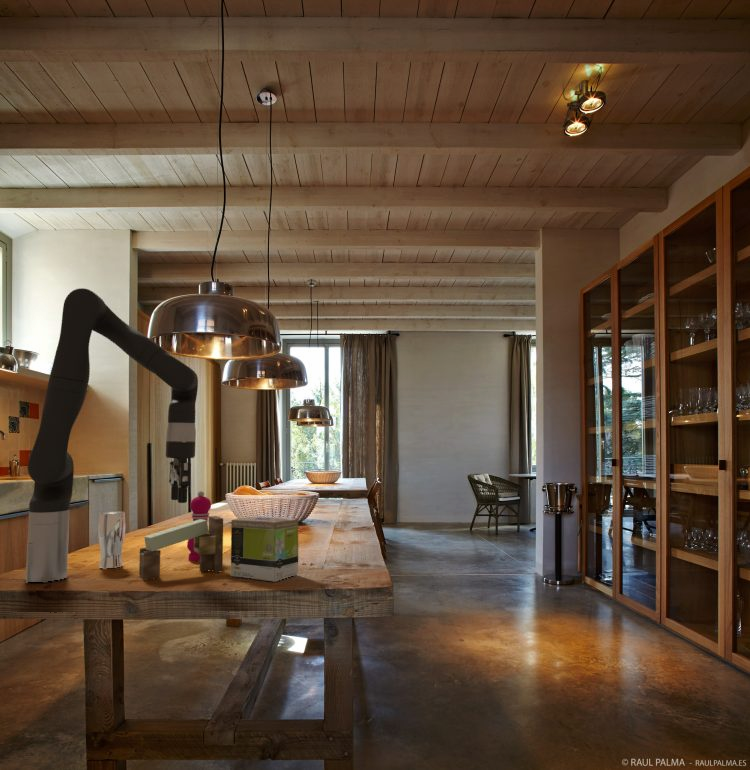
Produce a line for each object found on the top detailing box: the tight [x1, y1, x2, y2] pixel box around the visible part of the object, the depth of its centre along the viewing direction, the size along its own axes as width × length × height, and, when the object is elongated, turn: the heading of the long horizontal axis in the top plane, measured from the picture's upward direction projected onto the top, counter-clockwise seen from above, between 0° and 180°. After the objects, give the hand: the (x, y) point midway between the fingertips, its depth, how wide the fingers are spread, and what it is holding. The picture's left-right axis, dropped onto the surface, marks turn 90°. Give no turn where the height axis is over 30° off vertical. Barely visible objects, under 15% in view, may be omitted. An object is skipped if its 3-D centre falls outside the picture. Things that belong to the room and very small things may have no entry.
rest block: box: [138, 547, 162, 581], centre depth 158 cm, size 4×7×7 cm, turn 30°
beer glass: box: [97, 510, 126, 570], centre depth 171 cm, size 7×7×15 cm
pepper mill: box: [186, 490, 212, 562], centre depth 182 cm, size 7×7×20 cm
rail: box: [143, 519, 209, 551], centre depth 162 cm, size 16×4×4 cm, turn 134°
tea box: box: [230, 515, 299, 583], centre depth 159 cm, size 15×10×15 cm
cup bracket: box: [194, 515, 224, 573], centre depth 166 cm, size 6×7×14 cm
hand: (178, 501), depth 163 cm, fingers open, 8 cm apart
